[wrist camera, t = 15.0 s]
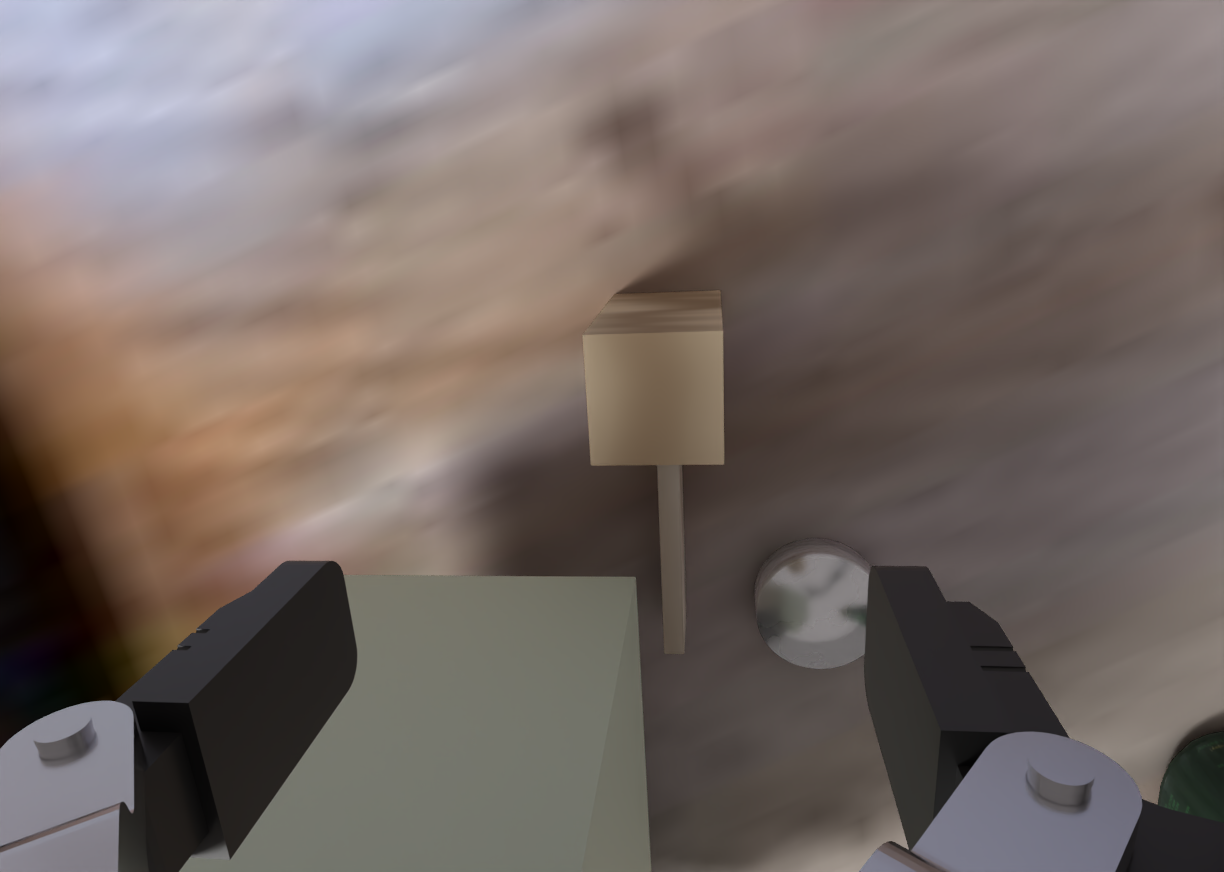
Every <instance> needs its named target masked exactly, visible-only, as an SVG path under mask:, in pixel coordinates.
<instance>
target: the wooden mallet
mask: <svg viewBox="0 0 1224 872" xmlns="http://www.w3.org/2000/svg"><path fill="white" fill-rule="evenodd" d="M582 337H583V353H584V368H585V384H586V399H587V415H588V430H589V445H590V461H591V466H605V465H657V475H658V502H659V529H660V556H661V583H662V610H663V638H664V654H684V648H685V631H686V587H685V549H684V511H683V473H682V465H724V377H723V322H722V307H721V291H720V290H714V291H686V292H658V293H630V294H614V296H613V297H612V298H611V299H610V301H609V302H608V303H607V304H606V306H605V307H604V308H603V309H602V311H601V312H600V313H599V315H598V316H597V317H596V318H595V320H594V321H593V322H592V323H591V325H590V326H589V327H588V328H587V330H586V331H585V332H584V333H583V335H582Z"/></svg>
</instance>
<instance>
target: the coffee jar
mask: <svg viewBox="0 0 1224 872" xmlns="http://www.w3.org/2000/svg"><path fill="white" fill-rule="evenodd" d="M1158 805H1159V806H1162V807H1165V808H1168V809H1172V810H1175V811H1179V812H1183V813H1187V814H1191V815H1195V816H1198V817H1202V818H1206V819H1210V820H1214V821H1218V822H1222V823H1224V731H1222V732H1217V733H1212V734H1208V735H1205V736H1202V737H1200V738H1198V739H1196V740H1194V741H1192V742H1191V743H1190V744H1189V745H1187V746H1186V747H1185V748H1184V749H1183V750H1182V751H1181V752H1179V753H1178V755H1177V756H1176V757H1175V758H1174V759H1173V760H1172V762H1171V763H1170V764H1169V766H1168V768H1167V770H1166V773H1165V775H1164V777H1163V780H1162V783H1161V786H1160V793H1159V799H1158Z"/></svg>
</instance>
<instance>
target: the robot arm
mask: <svg viewBox="0 0 1224 872" xmlns="http://www.w3.org/2000/svg"><path fill="white" fill-rule="evenodd" d="M196 630H197V631H196V633H191V634H190V635H189V636H188V637H187V638H186V639H185V640H183V641H182V642H181V643H180V644H179V645H178V649H177V650H172V651H171V652H170V653H169V654H168V655H167V656H166V657H164V658H163V659H162V660H161V661H160V662H159V663H158V664H157V665H155V666H154V667H153V668H152V669H151V670H150V671H149V672H148V673H146V674H145V675H144V676H143V677H142V678H141V679H140V680H139V681H138V682H136V683H135V684H134V685H133V686H132V687H131V688H130V689H129V690H127V691H126V692H125V693H124V694H123V695H122V696H121V697H120V698H118V699H117V700H116V701H115V702H114V701H96V702H89V703H84V704H79V705H76V706H72V707H68V708H66V709H63V710H60V711H57V712H55V713H52V714H50V715H48V716H46V717H44V718H42V719H40V720H38V721H36V722H34V723H32V724H30V725H29V726H27V727H25V728H24V729H23V730H21V731H20V732H18V733H17V734H16V735H14V736H13V737H12V738H11V739H10V740H8V741H7V742H6V743H5V745H4V746H3V747H2V748H1V749H0V872H179V871H180V870H181V868H182V867H183V866H184V864H185V863H186V862H187V860H188V859H189V858H206V859H222V860H231V858H232V857H233V855H234V854H235V852H236V851H237V850H238V848H239V847H240V845H241V844H242V842H243V841H244V840H245V838H246V837H247V835H248V834H249V832H250V831H251V829H252V828H253V827H254V825H255V824H256V822H257V821H258V819H259V818H260V817H261V815H262V814H263V812H264V811H265V809H266V808H267V807H268V805H269V804H270V802H271V801H272V799H273V798H274V797H275V795H276V794H277V792H278V791H279V789H280V788H281V787H282V785H283V784H284V782H285V781H286V779H287V778H288V777H289V775H290V774H291V772H292V771H293V769H294V768H295V767H296V765H297V764H298V762H299V761H300V759H301V758H302V757H303V755H304V754H305V752H306V751H307V749H308V748H309V747H310V745H311V744H312V742H313V741H314V739H315V738H316V737H317V735H318V734H319V732H320V731H321V729H322V728H323V726H324V725H325V724H326V722H327V721H328V719H329V718H330V716H331V715H332V714H333V712H334V711H335V709H336V708H337V706H338V705H339V704H340V702H341V701H342V699H343V698H344V696H345V695H346V694H347V692H348V691H349V689H350V687H351V685H352V683H353V680H354V677H355V673H356V668H357V645H356V640H355V634H354V629H353V623H352V618H351V612H350V607H349V601H348V596H347V590H346V585H345V579H344V575H343V572H342V569H341V567H340V566H339V565H338V563H336V562H334V561H286V562H284V563H282V564H281V565H280V566H279V567H278V568H277V569H275V570H274V571H273V572H272V573H271V574H270V575H269V576H268V577H267V578H266V579H265V580H263V581H262V582H261V583H260V584H259V585H258V586H257V587H256V588H255V589H254V590H253V591H251V592H249V593H247V594H245V595H244V596H242V597H240V598H238V599H236V600H234V601H233V602H231V603H229V604H227V605H225V606H223V607H221V608H220V609H218V610H217V611H216V612H215V613H214V614H213V615H212V616H210V617H209V618H208V619H207V620H206V621H205V622H204V623H203V624H201V625H200V626H199V627H198V628H197V629H196ZM864 676H865V689H866V696H867V702H868V706H869V710H870V714H871V717H872V721H873V724H874V728H875V731H876V735H877V738H878V742H879V745H880V749H881V752H882V756H883V759H884V763H885V766H886V770H887V773H888V777H889V780H890V784H891V787H892V791H893V794H894V798H895V801H896V805H897V808H898V812H899V815H900V819H901V822H902V826H903V829H904V833H905V836H906V840H907V844H908V847H909V850H908V849H906V848H904V847H902V846H900V845H898V844H897V843H895V842H892V841H889V842H886V843H884V844H882V845H881V846H880V847H879V848H878V849H877V850H876V851H875V852H874V853H873V854H872V856H871V857H870V858H869V859H868V861H867V862H866V863H865V865H864V866H863V867H862V868H861V870H860V871H859V872H1224V823H1222V822H1218V821H1214V820H1210V819H1206V818H1202V817H1198V816H1195V815H1191V814H1187V813H1183V812H1179V811H1175V810H1172V809H1168V808H1165V807H1162V806H1159V805H1156V804H1154V803H1151V802H1148V801H1146V800H1143V799H1142V797H1141V794H1140V791H1139V789H1138V787H1137V785H1136V784H1135V782H1134V780H1133V779H1132V778H1131V777H1130V775H1129V774H1128V773H1127V772H1126V771H1125V770H1124V769H1123V768H1122V767H1121V766H1120V765H1118V764H1117V763H1116V762H1115V761H1113V760H1112V759H1111V758H1109V757H1108V756H1106V755H1105V754H1103V753H1101V752H1100V751H1098V750H1096V749H1094V748H1092V747H1090V746H1088V745H1086V744H1083V743H1081V742H1079V741H1076V740H1073V739H1070V738H1069V736H1068V735H1067V733H1066V731H1065V730H1064V728H1063V727H1062V725H1061V723H1060V722H1059V720H1058V719H1057V717H1056V715H1055V714H1054V712H1053V711H1052V709H1051V707H1050V706H1049V704H1048V702H1047V701H1046V699H1045V698H1044V696H1043V694H1042V693H1041V691H1040V690H1039V688H1038V686H1037V685H1036V683H1035V682H1034V680H1033V678H1032V677H1031V675H1030V674H1029V672H1026V670H1025V665H1024V664H1023V662H1022V661H1021V659H1020V657H1019V656H1018V654H1017V653H1016V652H1014V651H1013V646H1012V645H1011V643H1010V641H1009V640H1008V638H1007V637H1006V635H1005V633H1004V632H1003V630H1002V628H1001V627H1000V625H999V624H998V622H996V621H995V620H993V619H992V618H991V617H989V616H988V615H987V614H985V613H984V612H982V611H981V610H980V609H978V608H977V607H975V606H974V605H973V604H971V603H970V602H946V600H945V598H944V597H943V595H942V593H941V591H940V589H939V587H938V585H937V583H936V582H935V580H934V578H933V576H932V574H931V572H930V570H929V569H928V568H927V567H922V566H872V567H871V570H870V573H869V580H868V598H867V617H866V637H865V656H864Z"/></svg>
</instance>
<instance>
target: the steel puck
mask: <svg viewBox="0 0 1224 872" xmlns="http://www.w3.org/2000/svg"><path fill="white" fill-rule="evenodd" d="M870 570H871V568H870V566H869V565H868V563H867V562H866V560H865V559H864V558H863V557H862V556H861V555H860V554H859V553H857V552H856V551H855V550H854V549H852V548H850V547H849V546H847V545H845V544H842V543H840V542H837V541H834V540H829V539H820V538H812V539H804V540H799V541H795V542H792V543H790V544H788V545H785V546H784V547H782V548H780V549H779V550H777V551H776V552H774V553H773V554H772V555H771V556H770V557H769V558H768V559H767V560H766V561H765V563H764V564H763V565H762V567H761V569H760V571H759V573H758V575H757V578H756V582H755V589H754V594H755V606H756V616H757V623H758V628H759V630H760V633H761V635H762V637H763V639H764V641H765V642H766V643H767V645H768V646H769V647H770V648H771V649H772V650H773V651H774V652H775V653H776V654H777V655H778V656H780V657H781V658H783V659H785V660H786V661H788V662H790V663H793V664H795V665H798V666H801V667H806V668H813V669H828V668H835V667H839V666H843V665H846V664H848V663H851V662H853V661H855V660H857V659H858V658H860V657H861V656H863V655H864V654H865V637H866V617H867V598H868V580H869V573H870Z"/></svg>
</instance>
